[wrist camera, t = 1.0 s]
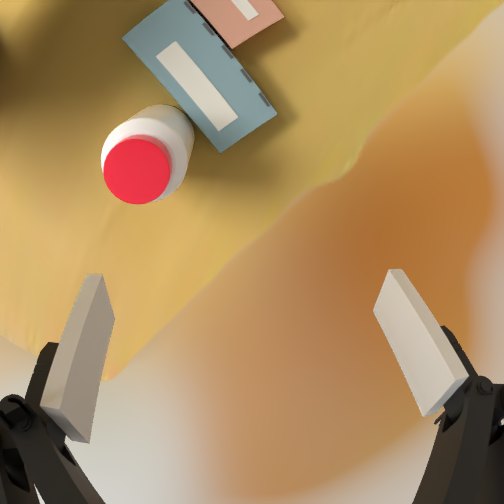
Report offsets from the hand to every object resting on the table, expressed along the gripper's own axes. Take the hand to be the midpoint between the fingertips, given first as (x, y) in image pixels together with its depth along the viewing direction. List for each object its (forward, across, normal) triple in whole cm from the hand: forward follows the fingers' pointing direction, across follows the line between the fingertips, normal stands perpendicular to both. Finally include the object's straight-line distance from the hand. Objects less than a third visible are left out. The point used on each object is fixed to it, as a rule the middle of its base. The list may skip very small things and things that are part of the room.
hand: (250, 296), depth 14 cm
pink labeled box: (+24, 0, +16) cm, 28 cm away
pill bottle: (+24, -8, +1) cm, 25 cm away
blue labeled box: (+24, -3, +8) cm, 25 cm away
